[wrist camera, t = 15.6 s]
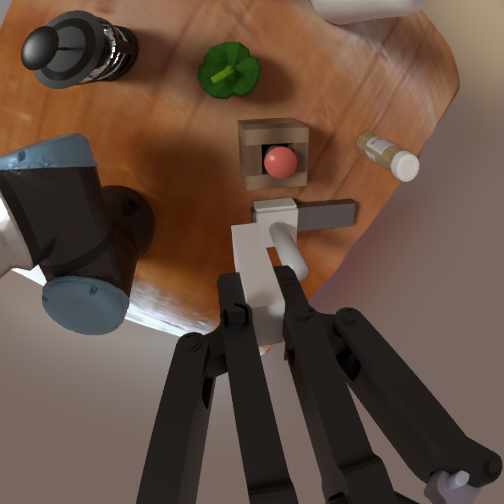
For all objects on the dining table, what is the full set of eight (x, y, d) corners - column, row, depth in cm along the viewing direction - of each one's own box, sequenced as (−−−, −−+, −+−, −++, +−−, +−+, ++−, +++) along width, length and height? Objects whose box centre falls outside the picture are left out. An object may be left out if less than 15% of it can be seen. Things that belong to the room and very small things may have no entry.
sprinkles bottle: (356, 156, 50) (396, 184, 39) (355, 132, 47) (397, 156, 36) (377, 152, 50) (419, 180, 39) (376, 130, 47) (421, 153, 36)
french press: (145, 22, 31) (97, -14, 13) (141, 78, 36) (89, 87, 18) (75, 33, 29) (-10, 22, 10) (73, 86, 34) (-13, 112, 16)
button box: (240, 173, 49) (247, 191, 42) (237, 120, 43) (244, 130, 37) (291, 169, 50) (306, 186, 43) (292, 117, 44) (308, 127, 38)
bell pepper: (248, 42, 36) (261, 35, 28) (255, 90, 41) (270, 95, 33) (193, 51, 35) (191, 45, 27) (202, 99, 40) (202, 107, 32)
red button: (255, 161, 46) (265, 179, 39) (254, 135, 43) (265, 148, 37) (282, 159, 46) (296, 177, 40) (282, 134, 44) (297, 147, 37)
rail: (251, 231, 56) (253, 236, 54) (250, 207, 53) (252, 212, 51) (348, 220, 58) (352, 225, 56) (351, 198, 55) (355, 203, 53)
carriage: (254, 238, 56) (273, 296, 43) (253, 201, 52) (273, 254, 39) (290, 234, 57) (317, 289, 44) (291, 197, 52) (323, 247, 40)
